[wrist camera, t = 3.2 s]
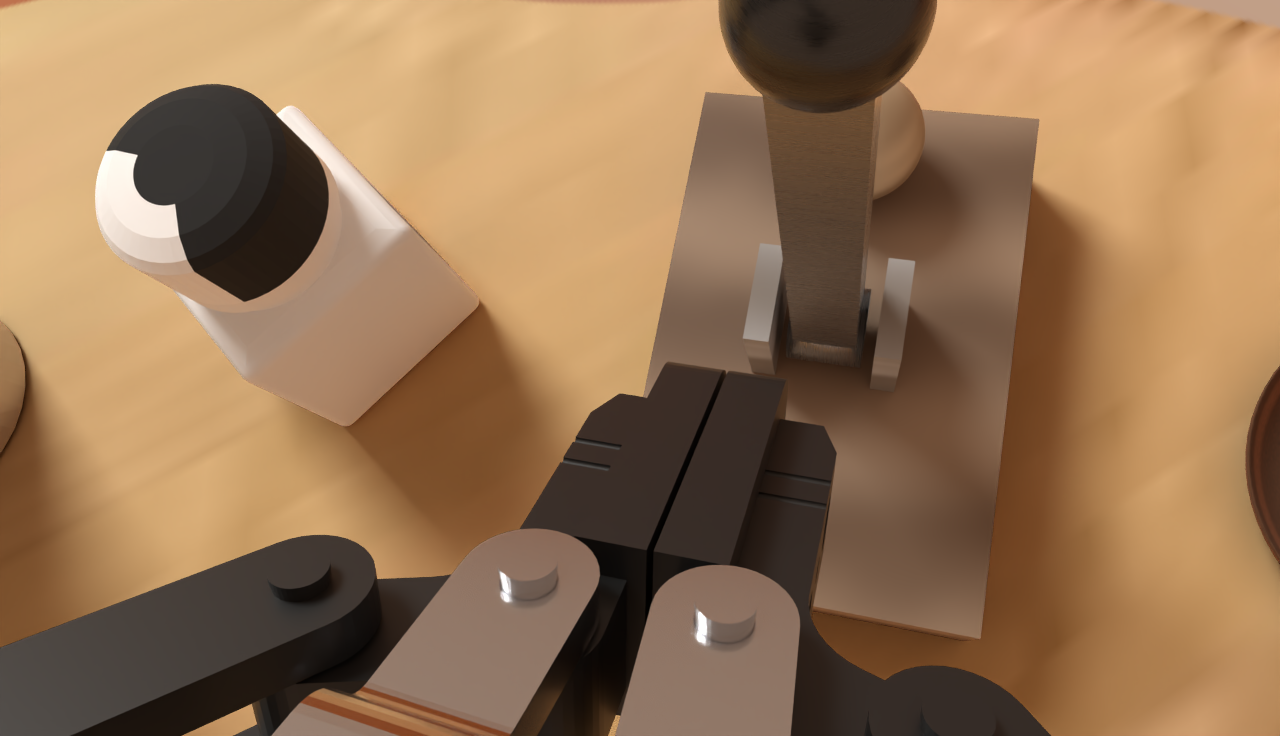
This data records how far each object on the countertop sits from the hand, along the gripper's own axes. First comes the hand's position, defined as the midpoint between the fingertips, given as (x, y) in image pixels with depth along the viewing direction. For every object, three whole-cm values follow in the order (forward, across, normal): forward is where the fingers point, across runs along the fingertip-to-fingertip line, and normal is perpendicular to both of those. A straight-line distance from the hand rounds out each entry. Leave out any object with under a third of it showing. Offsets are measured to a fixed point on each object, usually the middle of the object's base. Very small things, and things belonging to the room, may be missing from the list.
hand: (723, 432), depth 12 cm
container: (+23, +20, +12) cm, 33 cm away
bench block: (+23, 0, +12) cm, 26 cm away
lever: (+20, 0, +9) cm, 22 cm away
